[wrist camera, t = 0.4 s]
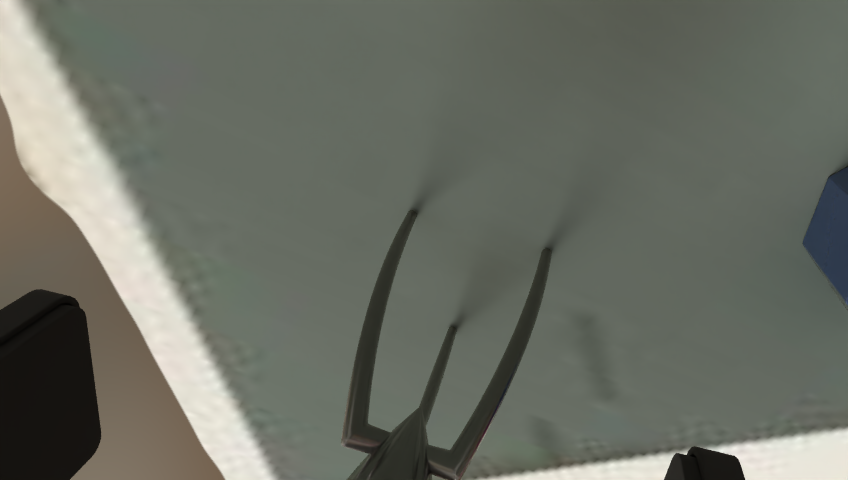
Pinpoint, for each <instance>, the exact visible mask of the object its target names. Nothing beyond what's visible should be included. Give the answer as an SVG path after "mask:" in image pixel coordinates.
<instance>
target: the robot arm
mask: <svg viewBox="0 0 848 480" xmlns="http://www.w3.org/2000/svg"><path fill="white" fill-rule="evenodd" d="M100 440H101V428H100V420H99V413H98V405H97V397H96V390H95V382H94V374H93V367H92V359H91V352H90V343H89V335H88V328H87V321H86V315H85V312H84V311H83V310H82V309H81V308H80V307H79V303H78V302H77V300H76V299H75V298H73V297H71V296H67V295H63V294H58V293H54V292H50V291H46V290H42V289H40V290H34V291H31V292H29V293H27V294H26V295H24V296H22V297H21V298H19V299H18V300H16V301H14V302H13V303H11V304H9V305H8V306H6V307H4V308H3V309H1V310H0V480H70V479H71V478H72V477H73V476H74V475H75V474H76V473H77V471H78V470H80V468H81V467H82V466H83V465H84V464H85V463H86V462H87V461H88V460H89V459H90V458H91V457H92V456H93V455H94V453H95V452H96V450H97V448H98V446H99V443H100ZM664 480H745V477H744V474H743V471H742V468H741V465H740V462H739V460H738V458H736V457H735V456H732V455H728V454H724V453H720V452H716V451H712V450H707V449H703V448H699V447H692V448H691V449H690V450H689V451H688V453H687V455H683V454H679V453H676V454H675V455H674V456H673V458H672V460H671V463H670V466H669V468H668V471H667V474H666V476H665V479H664Z"/></svg>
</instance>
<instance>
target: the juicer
mask: <svg viewBox="0 0 848 480" xmlns="http://www.w3.org/2000/svg"><path fill="white" fill-rule="evenodd" d="M416 217H417V213H416V212H415V211H413V210H410V211H409V212H408V213H407V215H406V217H405V219H404V220H403V222H402V224H401V226H400V228H399V230H398V232H397V234H396V236H395V238H394V240H393V242H392V244H391V246H390V249H389V251H388V253H387V255H386V258H385V260H384V263H383V265H382V268H381V270H380V273H379V276H378V278H377V281H376V284H375V287H374V290H373V293H372V296H371V299H370V303H369V306H368V309H367V313H366V316H365V320H364V324H363V328H362V332H361V336H360V340H359V344H358V348H357V353H356V357H355V362H354V367H353V372H352V377H351V382H350V388H349V393H348V399H347V405H346V411H345V418H344V424H343V431H342V439H341V444H342V446H344V447H347V448H350V449H354V450H357V451H361V452H365V453H368V454H369V455H368V456H367V457H366V458H365V459H364V460H363V461H362V462H361V463H360V465H359V466H358V467H357V468H356V469H355V470H354V472H353V473H352V474H351V475H350V476H349V478H348V479H347V480H432V475H435V476H437V477H440V478H442V479H445V480H461V478H462V476H463V474H464V473H465V471H466V469H467V467H468V466H469V464H470V462H471V460H472V458H473V457H474V455H475V453H476V451H477V449H478V448H479V446H480V444H481V442H482V440H483V438H484V436H485V435H486V433H487V431H488V429H489V427H490V425H491V423H492V421H493V419H494V417H495V415H496V413H497V411H498V409H499V407H500V405H501V403H502V401H503V399H504V397H505V395H506V393H507V391H508V388H509V386H510V384H511V382H512V380H513V377H514V375H515V373H516V371H517V368H518V366H519V364H520V361H521V359H522V356H523V354H524V351H525V349H526V346H527V344H528V341H529V338H530V336H531V333H532V330H533V327H534V324H535V321H536V318H537V315H538V312H539V308H540V305H541V301H542V298H543V294H544V290H545V286H546V281H547V277H548V272H549V267H550V261H551V254H552V252H551V250H550V249H548V248H545V249H543V250H542V252H541V256H540V260H539V264H538V267H537V270H536V274H535V277H534V280H533V283H532V286H531V289H530V292H529V295H528V297H527V300H526V303H525V306H524V308H523V311H522V313H521V316H520V318H519V321H518V323H517V326H516V328H515V331H514V333H513V335H512V338H511V340H510V342H509V344H508V346H507V349H506V351H505V353H504V355H503V357H502V359H501V361H500V364H499V366H498V368H497V370H496V372H495V374H494V376H493V378H492V380H491V381H490V383H489V385H488V387H487V389H486V391H485V393H484V395H483V397H482V398H481V400H480V402H479V404H478V406H477V407H476V409H475V411H474V413H473V414H472V416H471V418H470V419H469V421H468V423H467V424H466V426H465V428H464V429H463V431H462V433H461V434H460V436H459V437H458V439H457V441H456V442H455V444H454V445H453V447H452V448H451V450H446V449H442V448H439V447H435V446H431V445H428V439H427V432H426V425H427V422H428V420H429V417H430V414H431V411H432V408H433V405H434V402H435V399H436V396H437V393H438V390H439V387H440V384H441V381H442V378H443V375H444V372H445V368H446V365H447V362H448V359H449V355H450V352H451V349H452V345H453V342H454V339H455V335H456V332H457V330H456V328H455V327H450V328H449V329H448V331H447V334H446V337H445V339H444V342H443V344H442V347H441V349H440V352H439V355H438V357H437V360H436V362H435V365H434V368H433V370H432V373H431V376H430V378H429V381H428V384H427V386H426V389H425V392H424V395H423V397H422V400H421V403H420V406H419V408H418V409H417V410H415V411H414V412H413V413H412V414H411V415H409V416H408V417H407V418H406V419H405V420H404V421H403V422H401V423H400V424H399V425H398V426H397V427H396V428H395V429H394V430H393V431H392V432H391V433H390V432H388V431H385V430H382V429H380V428H377V427H375V426H372V425H369V424H368V413H369V403H370V394H371V385H372V378H373V371H374V364H375V358H376V352H377V347H378V341H379V336H380V331H381V327H382V322H383V318H384V313H385V309H386V305H387V301H388V297H389V294H390V290H391V286H392V283H393V280H394V276H395V273H396V270H397V267H398V264H399V261H400V258H401V255H402V252H403V249H404V247H405V244H406V241H407V239H408V236H409V234H410V231H411V229H412V227H413V224H414V222H415V220H416Z"/></svg>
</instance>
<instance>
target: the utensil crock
mask: <svg viewBox="0 0 848 480" xmlns="http://www.w3.org/2000/svg"><path fill="white" fill-rule="evenodd" d="M803 245H804V247H805V248H806V250H807V252H808V253H809V255H810V256H811V258H812V259H813V261H814V262H815V264H816V265H817V267H818V268H819V270H820V271H821V273H822V274H823V276H824V277H825V279H826V280H827V282H828V283H829V285H830V286H831V288H832V289H833V291H834V292H835V294H836V295H837V297H838V298H839V300H840V301H841V302H842V304H843V305H844V306H845V308H846V309H847V311H848V167H846V168H845V169H843V170H841V171H839V172H837V173H835V174H833V175H831V176H830V177H829V178H828V180H827V183H826V185H825V188H824V190H823V193H822V195H821V198H820V200H819V203H818V205H817V208H816V210H815V213H814V215H813V218H812V220H811V223H810V225H809V228H808V230H807V233H806V236H805V238H804V241H803Z"/></svg>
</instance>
